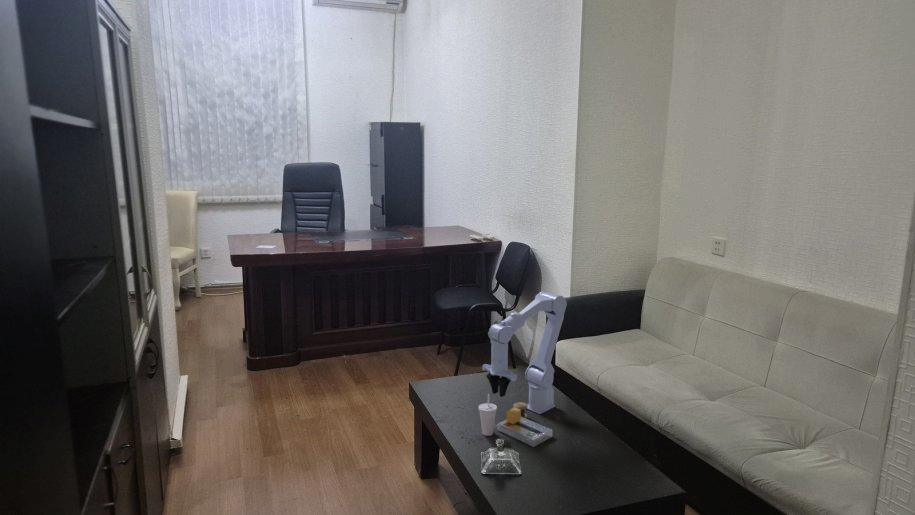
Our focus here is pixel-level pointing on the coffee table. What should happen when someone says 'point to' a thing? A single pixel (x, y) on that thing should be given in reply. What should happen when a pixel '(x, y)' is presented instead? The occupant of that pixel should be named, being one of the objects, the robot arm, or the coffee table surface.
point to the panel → (526, 431)
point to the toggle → (513, 415)
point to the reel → (521, 408)
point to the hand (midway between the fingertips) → (498, 394)
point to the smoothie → (487, 417)
